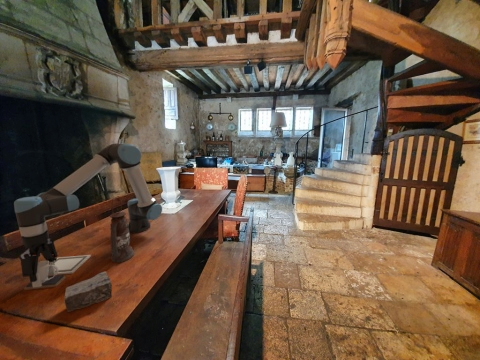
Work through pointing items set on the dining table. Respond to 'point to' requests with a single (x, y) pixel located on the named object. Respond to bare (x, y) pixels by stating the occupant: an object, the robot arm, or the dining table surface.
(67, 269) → the board
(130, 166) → the robot arm
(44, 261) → the cup
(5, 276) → the dining table surface
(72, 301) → the stone block
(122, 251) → the lantern
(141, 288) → the dining table surface
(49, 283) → the ink pad
